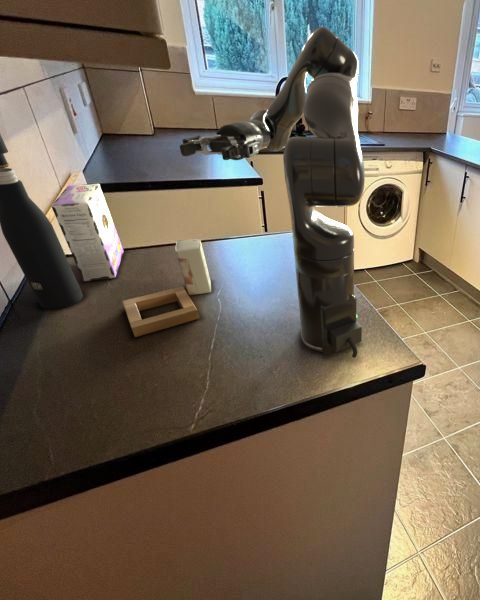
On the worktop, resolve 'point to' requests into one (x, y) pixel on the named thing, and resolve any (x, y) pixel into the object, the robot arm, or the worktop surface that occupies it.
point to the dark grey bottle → (34, 243)
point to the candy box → (89, 231)
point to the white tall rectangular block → (193, 266)
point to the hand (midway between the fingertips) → (203, 152)
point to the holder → (161, 320)
